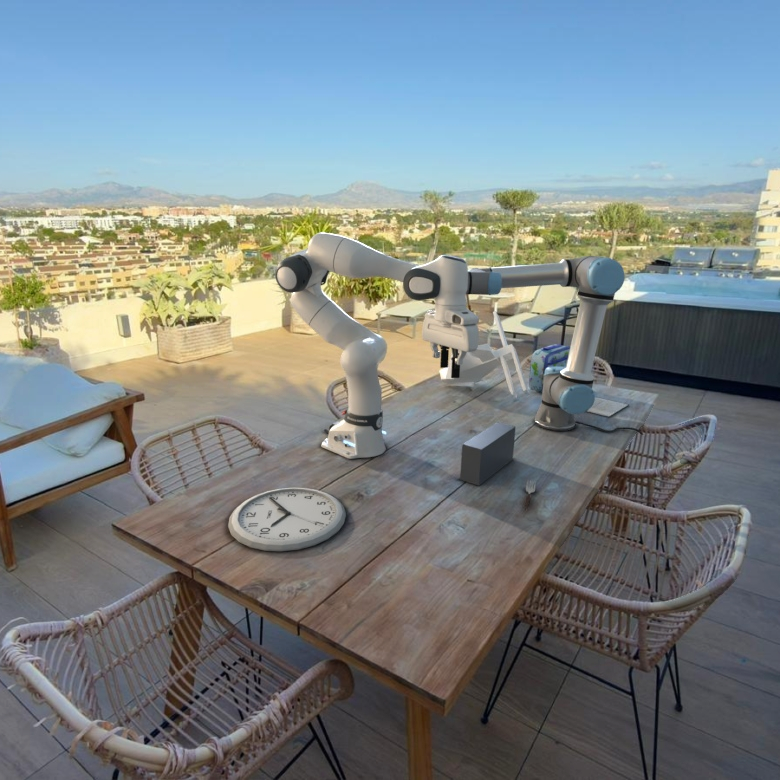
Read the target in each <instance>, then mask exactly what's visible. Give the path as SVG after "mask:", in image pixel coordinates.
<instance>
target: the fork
mask: <svg viewBox="0 0 780 780" xmlns="http://www.w3.org/2000/svg"><path fill="white" fill-rule="evenodd" d="M536 483H537V480H536V479H535V480H534V482H532V479H530V481H529V478H527V482H526V487H525V492H526V493H528V495H527V496H526V497H525V510H526V511H527V509H528V507H529V504H530V502H531V494H532V493H535V491H536Z"/></svg>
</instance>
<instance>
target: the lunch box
mask: <svg viewBox="0 0 780 780" xmlns="http://www.w3.org/2000/svg"><path fill="white" fill-rule="evenodd" d="M570 347H571V345H570V346H568V345H562V344H551V345H547V346H545V347H541V348H539V349H536V350H534V352H533V353H532V355H531V358H530V359H531V360H530V366H529V377H528V379H529V380H528V387H529V390H531V391H536V392H541V393H542V391H543V382H544V374H545V369H546V368H548V367H566V365H567V360H568V356H569V351H570Z"/></svg>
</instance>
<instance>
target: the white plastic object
mask: <svg viewBox="0 0 780 780" xmlns="http://www.w3.org/2000/svg"><path fill="white" fill-rule="evenodd" d="M492 315H493V319H494V321H495V324H496V325H495V326H496V328H497V332H498V335H499V338H500V342H501V345H502V347H500V348H498V349H496V350H495V349H493V348H492V347H491V346H490V344H489V343H488V342H487V343H483V344H478V348H477V349H476V350H475V351H472V352H467V353H466V355H465V357H464V358H463V364H462V365H460V376H459V378H451V369H452V360H451V358H452V357H453V354H452V351H451V353H450V357H449V360H448V368H440V370H439V371H438V372H439V376H440V381H442V383H443V384H444V385H445V386H449V385H458V384H467V383H468V384H469V383H473V384H477V383H480V382H482V381H484V378H485V377H486V376H487V375H489V374H490V373H492V372H494V371H495V370H496V369H497V368H499V367H500V366H502V370H503V373H504V376H505V380H506V383H507V386H508V390H509V393H510V394H511V395H512V397H513V398H514V399H515V400H517V392H516V391H517V390H516V388H515V385H514V381H513V378H512V375H511V371H510V369H509V365H508V361H510V360H513V363H514V366H515V369H516V372H517V376H518V380H519V382H520V385H521V389H522V391H523V393H524V395H525V396H526V397H528V396H531V395H530V389H529V388H528V387H529V386H528V384H527V381H526V378H525V375H524V371H523V369H522V368H523V367H522V366H521V362H520V359H519V355H518V352H517V349H516V347H515V346H514V345H513V343H511V344H508V341H507V337H506V334H505V331H504V328H503V325H502V321H501V318H500V315H499V314H498V312H497V311H496V310H495V311H492Z"/></svg>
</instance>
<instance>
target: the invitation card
mask: <svg viewBox="0 0 780 780" xmlns="http://www.w3.org/2000/svg"><path fill="white" fill-rule="evenodd" d="M628 406H629V404H627V403H623V402H618V401H614V400H609V399H605V398H601V397H596V396H595V401H594V403H593V405H592V407H591V408H590V409H589V410H587V411H586V412H587V413H593V414H596V415H600V416H604V417H608V418H609V417H611V416H613V415H614V414H616V413H617V412H619V411H621V410H623V409H624V408H626V407H628Z"/></svg>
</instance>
